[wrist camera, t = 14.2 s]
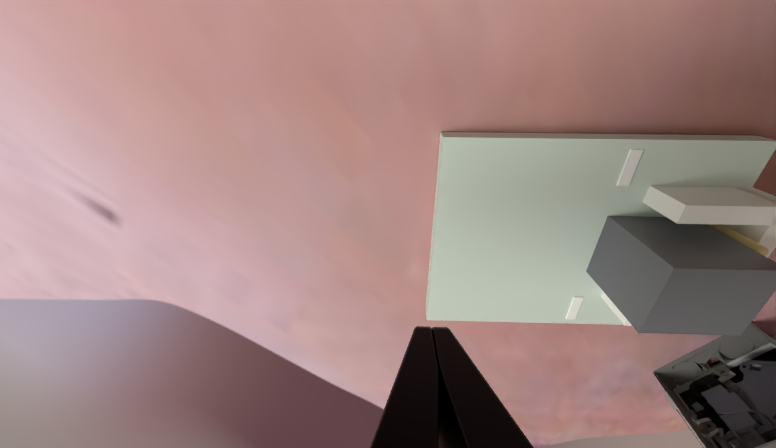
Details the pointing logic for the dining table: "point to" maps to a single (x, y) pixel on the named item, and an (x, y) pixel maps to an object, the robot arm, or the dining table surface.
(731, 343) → the electrical switch
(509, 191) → the board
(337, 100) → the dining table surface
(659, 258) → the plug
